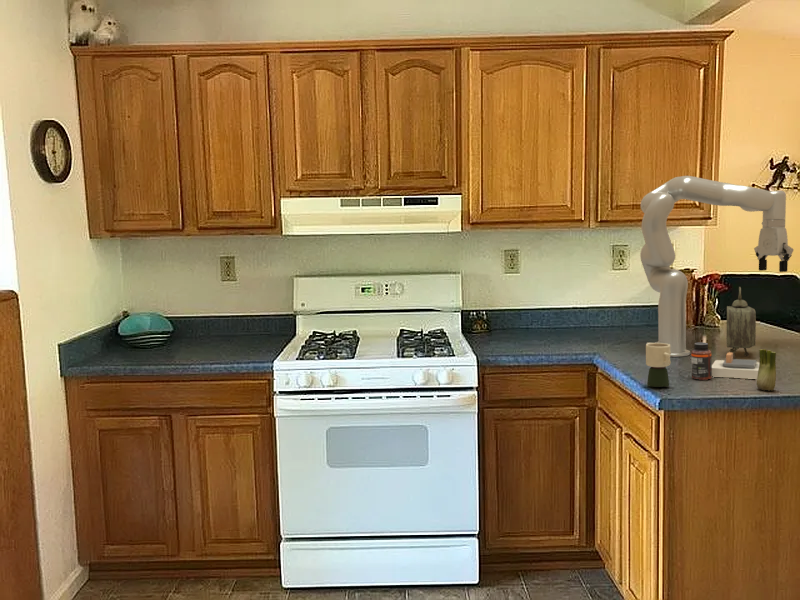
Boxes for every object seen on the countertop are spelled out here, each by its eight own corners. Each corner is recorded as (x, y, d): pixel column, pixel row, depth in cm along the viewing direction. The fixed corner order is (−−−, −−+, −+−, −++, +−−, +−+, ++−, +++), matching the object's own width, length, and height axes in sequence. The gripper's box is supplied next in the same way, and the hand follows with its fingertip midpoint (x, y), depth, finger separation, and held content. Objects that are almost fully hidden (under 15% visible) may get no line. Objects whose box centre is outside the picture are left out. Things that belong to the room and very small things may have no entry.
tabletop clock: (726, 352, 277) (726, 285, 274) (753, 352, 274) (754, 285, 271) (727, 359, 264) (727, 289, 261) (755, 360, 260) (756, 288, 258)
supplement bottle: (706, 376, 238) (706, 341, 237) (715, 380, 232) (715, 344, 231) (688, 377, 238) (688, 342, 237) (696, 381, 232) (696, 345, 231)
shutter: (722, 366, 237) (722, 355, 237) (726, 361, 245) (726, 351, 244) (753, 367, 232) (754, 357, 232) (756, 362, 240) (756, 352, 240)
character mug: (679, 389, 222) (679, 346, 221) (658, 391, 220) (658, 348, 219) (658, 382, 233) (657, 341, 231) (637, 384, 231) (637, 343, 230)
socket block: (709, 377, 237) (709, 367, 237) (715, 368, 249) (715, 360, 249) (765, 380, 229) (765, 371, 228) (769, 372, 241) (769, 362, 241)
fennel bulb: (778, 392, 214) (778, 351, 213) (759, 392, 215) (760, 351, 213) (771, 388, 220) (772, 347, 218) (754, 388, 220) (754, 347, 219)
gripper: (747, 225, 282) (747, 270, 284) (784, 224, 266) (783, 272, 267) (763, 224, 284) (762, 269, 286) (801, 224, 268) (799, 271, 270)
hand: (772, 271), depth 277 cm, fingers open, 9 cm apart
